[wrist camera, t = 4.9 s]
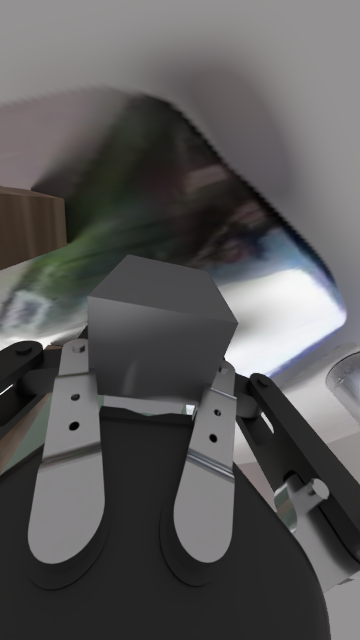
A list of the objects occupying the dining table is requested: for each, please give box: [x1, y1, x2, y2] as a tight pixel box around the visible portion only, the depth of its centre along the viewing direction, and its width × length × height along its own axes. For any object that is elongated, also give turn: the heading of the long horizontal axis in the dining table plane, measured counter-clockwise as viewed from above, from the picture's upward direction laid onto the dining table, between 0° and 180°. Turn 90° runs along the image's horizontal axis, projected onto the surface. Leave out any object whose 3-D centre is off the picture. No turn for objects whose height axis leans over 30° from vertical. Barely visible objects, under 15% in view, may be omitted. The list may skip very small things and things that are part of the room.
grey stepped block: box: [88, 254, 238, 414], centre depth 11 cm, size 5×9×6 cm, turn 168°
